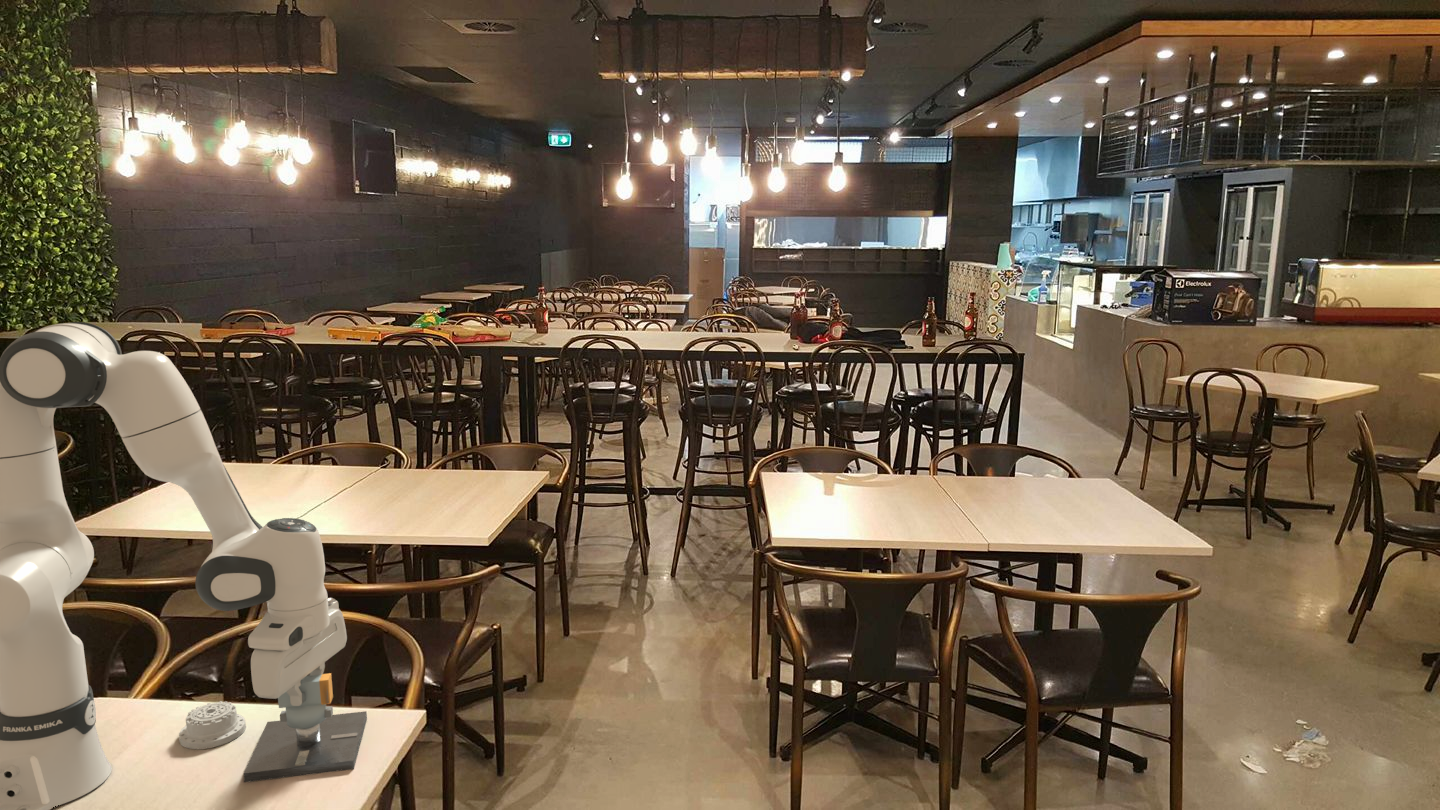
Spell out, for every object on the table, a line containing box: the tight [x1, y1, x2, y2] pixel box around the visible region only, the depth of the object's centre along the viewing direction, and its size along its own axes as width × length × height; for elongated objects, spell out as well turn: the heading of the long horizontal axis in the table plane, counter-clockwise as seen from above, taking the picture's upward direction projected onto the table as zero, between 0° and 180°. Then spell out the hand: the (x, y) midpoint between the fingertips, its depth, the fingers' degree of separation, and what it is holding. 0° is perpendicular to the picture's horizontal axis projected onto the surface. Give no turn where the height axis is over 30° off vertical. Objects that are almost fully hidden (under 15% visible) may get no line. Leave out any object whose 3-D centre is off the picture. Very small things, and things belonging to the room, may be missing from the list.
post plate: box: [243, 710, 368, 783], centre depth 154 cm, size 16×16×5 cm
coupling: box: [277, 672, 334, 729], centre depth 153 cm, size 8×6×7 cm
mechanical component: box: [178, 700, 247, 750], centre depth 158 cm, size 10×4×10 cm
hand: (306, 697), depth 152 cm, fingers closed on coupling, 3 cm apart
